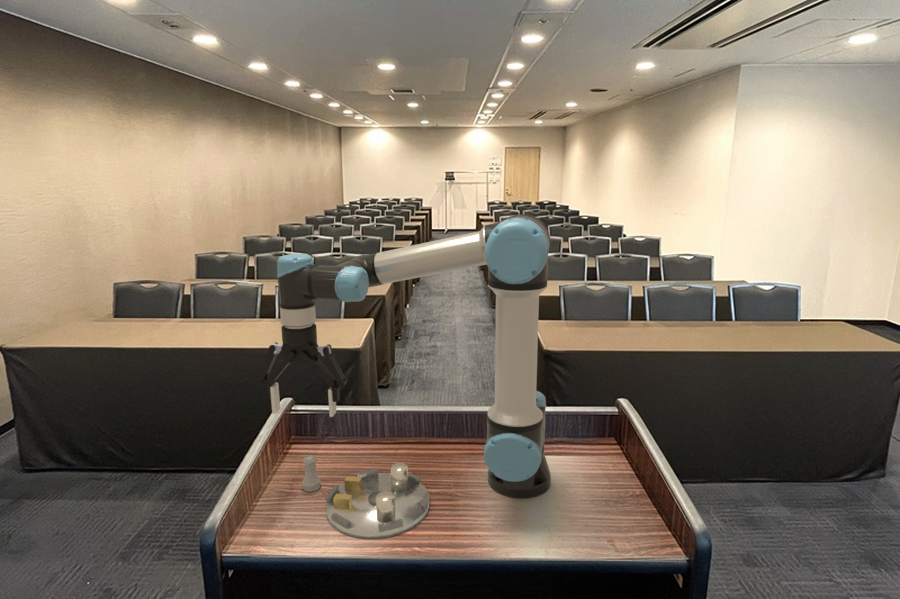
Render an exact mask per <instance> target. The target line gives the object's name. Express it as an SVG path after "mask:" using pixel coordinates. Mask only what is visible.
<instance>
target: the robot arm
mask: <svg viewBox="0 0 900 599" xmlns="http://www.w3.org/2000/svg"><path fill="white" fill-rule="evenodd" d="M550 236H551V235H550V233H549V229H548V228H547V227H546V225H545V223H544V222H542V220H540V219H539V218H537V217H535V216H534V215H530V214H524V213H521V214H516V215H512V216H510V217H508V218H506V219H504V220H500V221H497V222H493V223H489V224H485V225H483V226H482V228H481V230H478V231H473V232H469V233H465V234H459V235H455V236H451V237H446V238H442V239H437V240H431V241H427V242H422V243H417V244H413V245H408V246H404V247H399V248H394V249H390V250H389V249H388V250H385V251H381V252H376V253H372V254H371V253H370V254H361V255H357V256H355V257H353V258H351V259H349V260H347V261H344V262H342V263H339V264H336V265H320V264H319V265H318V264H314V260H313V257H312V256H311V255H310V254H305V253H294V254H293V253H291V254H290V253H289V254H286V255H285V254H284V255H282V256H280V257H279V258H277V267H276V268H277V275H276V279H277V286H278V296H279V312H280V324H281V325H282V326H281V327H280V328H281V341H282V344H279V343H278V342H273V343H272V344H270V345H269V346H268V355H267V357H266V360H265V362H264V365H263V367H262V368H261V372H260V374H259V376H258V378H257V383H258V384H263V385H265V387H266V395H267V398H268V399H269V400H270V401H271V402H270V403H271V414H275V415H276V414H277V413H278V411H280V410H281V403H280V402H281V400H280V389H279V388H280V386H279V382H276V381H277V380H278V378H279V377H280V376H281V374H282V373H283V372H284V371H285V370H286V368H288V366H289V365H290V364H292V365H293V366H299V365H301V366H308V365H309V366H310V368H312V369H314V371H316V373H317V374H318V375H319V376H320V377H321V378H322V379H323V380H324V382H325V383H326V384H327V386H329V388H328V390H327V394H328V396H327V397H328V411H329V412H328V413H329V418H333V417H334V416H335V414H336V413H337V402H338V401H340V398H341V397H340V395H341V394H340V388H343V387H344V386H345V385H346V384H347V382H348V379H347V377H346V376H345V374H344V372H343V370H342V368H341V366H340V364H339V363H338V361H337V359H336V357H335V355H334V354H333V348H332V345H331V344H326V345H323V346H319V345H318V344H319V343H318V334H317V333H318V332H317V330H318V329H317V324H316V321H317V315H316V300H317V301H319V300H320V301H333V302H334V301H335V302H344V303H351V302H353V303H354V302H361V301H363V300H365V298H366V296H367V294H368V292H369V288H372V287H373V288H375V287H378V286H382V285H387V284H392V283H397V282H401V281H408V280H413V279H416V278H417V279H418V278H423V277H428V276H429V277H430V276H435V275H438V274H443V273H450V272H455V271H460V270H464V269H471V268H477V267H480V266H486V265H487V267H488V276H487V280H488V288H489V289H490V290H491V291H492V292H493V294H495V338H494V339H495V340H494V341H495V344H494V345H495V346H494V347H495V348H494V350H495V351H494V352H495V354H494V403H493V405H491V406H490V407H489V408H488V409H487V419H486V420H487V422H486V423H487V424H486V425H487V426H486V428H487V429H486V431H487V432H486V442H485V444H484V447H483V458H484V459H483V460H484V463H485V465H486V467H487V468H488V471H487V482H488V485H489V486H490V488H492V489H493V491H496V492H497V493H499V494H502V495H503V496H507V497H510V498H515V499H516V498H517V499H518V498H519V499H524V498H525V499H527V498H532V497H533V498H534V497H538V496H540V495H542V494H545V493H546V492H547V490H549V488H550V487H551V471H550V468H549V464H548V461H547V458H546V455H545V439H546V438H545V436H546V431H545V430H546V408H547V404H546V403H547V400H546V396H545V395H544V394H543V393H542V392H541V391H539V390H537V381H538V380H537V377H538V349H539V348H538V347H539V345H538V342H539V341H538V340H539V314H540V313H539V311H540V307H539V306H540V303H539V302H540V295H541V294H542V293H543V292H544V291H545V290H546V289H547V288H548V272H549V270H548V269H549V268H548V267H549V251H550V249H551V248H550V247H551V237H550ZM280 353H282V354H283V355H284V356H285V358H284V359H283V360H282V361H281V363H280V364H279V365H278V367H276V369H275V370H274V372H273V373H272V374H271V376H269V375H270V373H271V370H272V369H273V366H274V363H275V361H276V359H277V356H278V354H280ZM318 353H320V355H321V356H322V357H323V358H324V360H325V362H326V365H327V366H328V367H327V366H326V365H325V363H323V362H322V360H321V358H320V357H319V355H318Z"/></svg>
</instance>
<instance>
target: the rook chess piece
mask: <svg viewBox="0 0 900 599" xmlns="http://www.w3.org/2000/svg"><path fill="white" fill-rule="evenodd" d="M317 461H318V459H317V458H316V456H315V455H314V454H313V455H312V454H309V455H308V454H307V455H305V456H304V457H303V460H302V463H303V464H304V466H303V468H304V471H305V473H304V477H303V480H302V482H301V485H302V486H301V488H302V489H303V490H304V491H305V492H308V493H311V492H312V493H313V492H315V491H317V490H319V489H320V488H321V485H322V483H321V478H320V477H319V475H318V474H317V470H316V467H317V464H316V463H317Z"/></svg>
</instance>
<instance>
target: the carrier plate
mask: <svg viewBox="0 0 900 599" xmlns="http://www.w3.org/2000/svg"><path fill="white" fill-rule="evenodd" d="M325 500H326V503H325V510H326V518H327V521H328V522H329V524H330V525H331V527H333V528H334V529H335V530H337V531H338V532H340V533H342V534H344V535H346V536H349V537H352V538H357V539H363V540H365V539H367V540H368V539H369V540H373V539H375V540H376V539H377V540H378V539H386V538H390V537H394V536H397V535H401V534H403V533H405V532H407V531H409V530H411V529H413V528H415V527H416V526H418V525H419V524H420V523H421V522H423V520H424V519H425V518H426V516H427V514H428V512H429V509H430V492H429V491H428V489H427V488H426V486H425V485H424V484H423V483H422V482H421V477H419V476H417V475H415V474H413V473H411V472H409V465H408V464H406V463H404V462H397V463H392V464H391V466H390V472H379V470H378V468H372V469H369V470H364V471H358V472H356V476H349V475H348V476H346V477H345V479H344V482H343V483H342V484H340V485H337V484H334V485H333V486H332V488H330V491H329V492H328V494H327V495H326V497H325Z"/></svg>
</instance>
